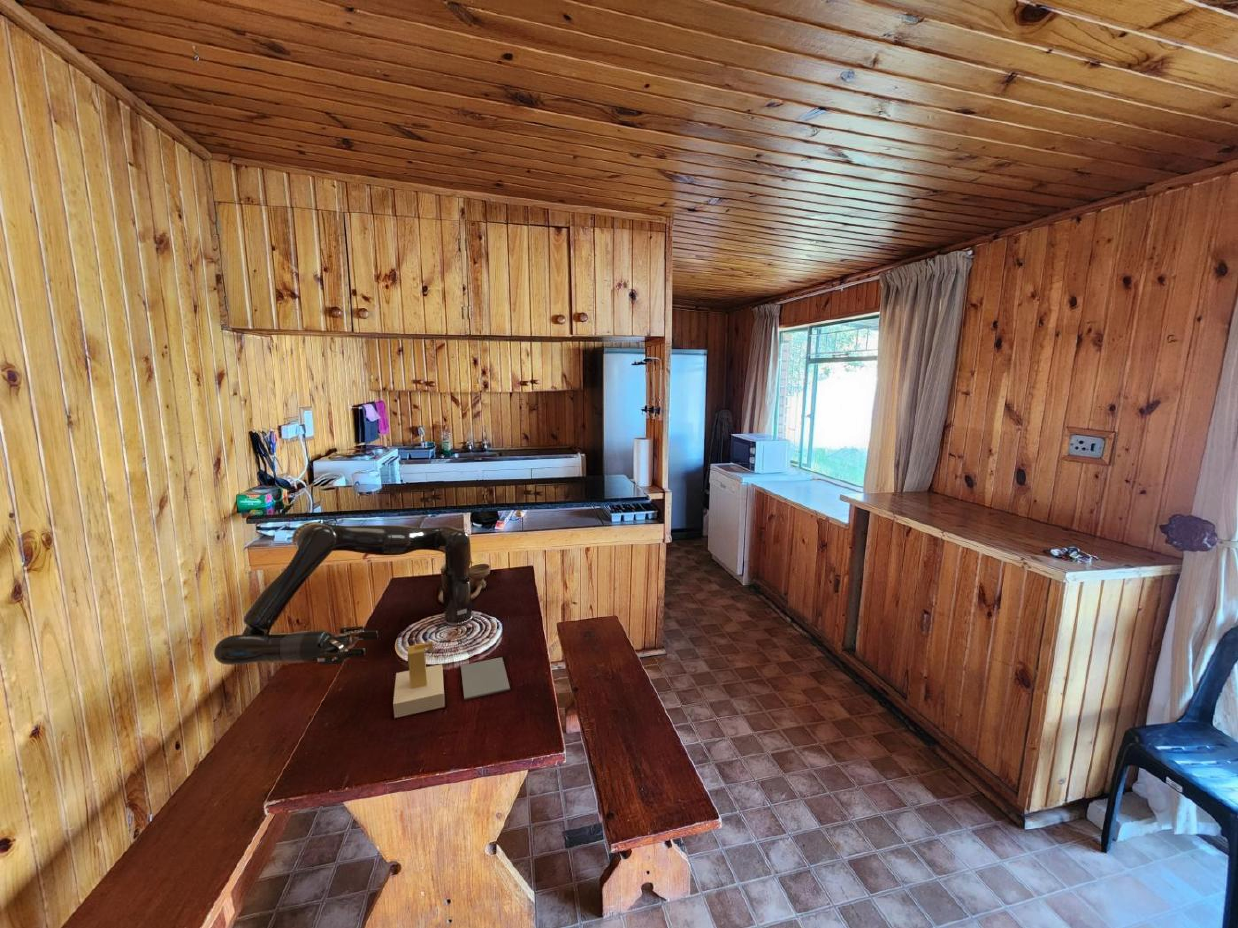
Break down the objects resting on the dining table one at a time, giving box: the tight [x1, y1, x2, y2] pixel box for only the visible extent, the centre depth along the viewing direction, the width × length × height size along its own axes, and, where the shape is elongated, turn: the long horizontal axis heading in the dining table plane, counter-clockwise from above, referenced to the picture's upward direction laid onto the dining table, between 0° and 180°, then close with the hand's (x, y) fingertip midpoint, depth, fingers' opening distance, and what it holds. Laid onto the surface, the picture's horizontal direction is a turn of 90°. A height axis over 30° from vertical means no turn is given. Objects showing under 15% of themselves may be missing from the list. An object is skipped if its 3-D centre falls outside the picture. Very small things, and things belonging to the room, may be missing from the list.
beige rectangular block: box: [392, 663, 446, 719], centre depth 135 cm, size 14×12×4 cm
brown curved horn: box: [437, 563, 491, 604], centre depth 197 cm, size 24×9×19 cm
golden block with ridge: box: [407, 640, 434, 689], centre depth 134 cm, size 4×6×11 cm, turn 110°
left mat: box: [460, 657, 511, 701], centre depth 143 cm, size 16×12×1 cm
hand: (371, 643), depth 132 cm, fingers open, 8 cm apart
